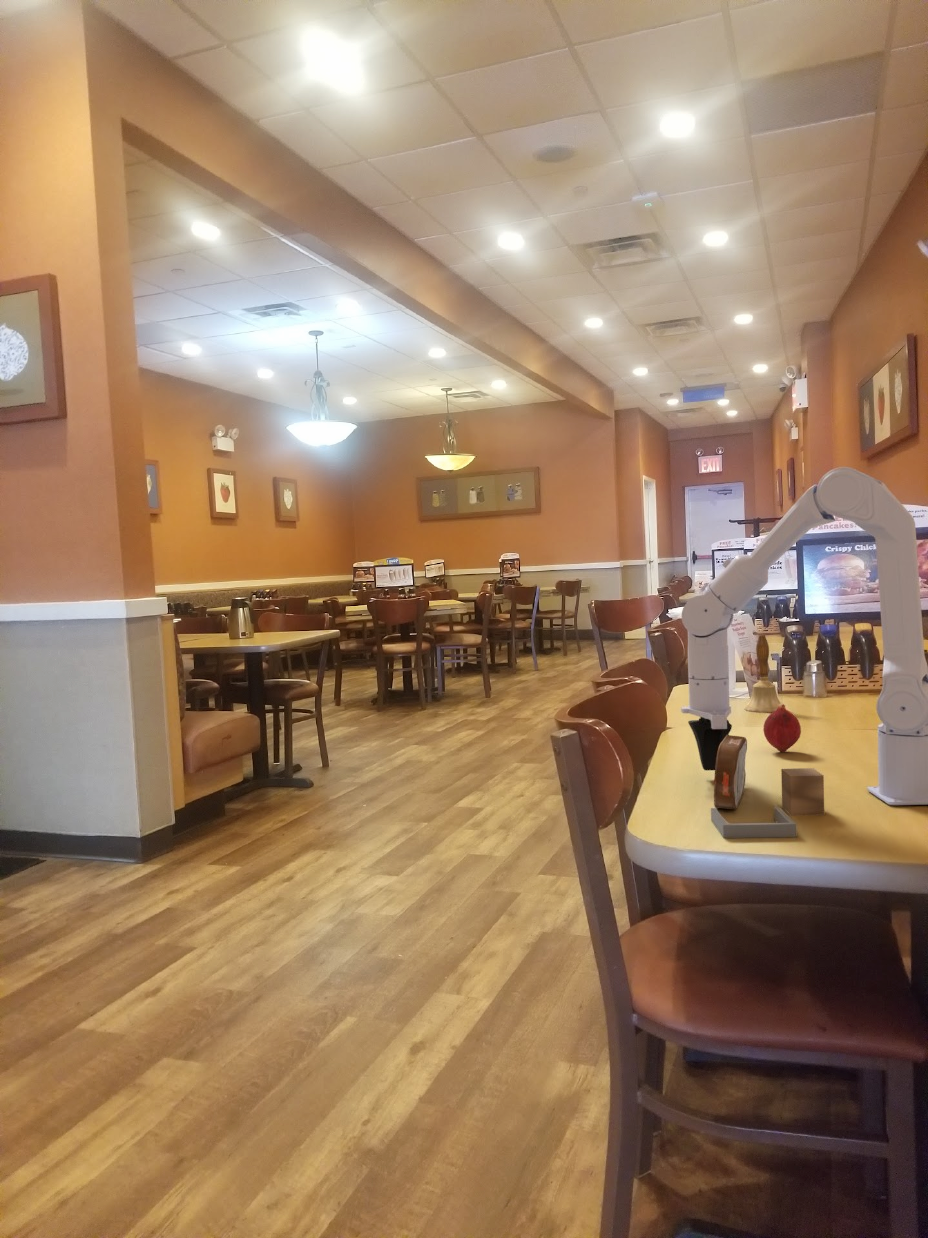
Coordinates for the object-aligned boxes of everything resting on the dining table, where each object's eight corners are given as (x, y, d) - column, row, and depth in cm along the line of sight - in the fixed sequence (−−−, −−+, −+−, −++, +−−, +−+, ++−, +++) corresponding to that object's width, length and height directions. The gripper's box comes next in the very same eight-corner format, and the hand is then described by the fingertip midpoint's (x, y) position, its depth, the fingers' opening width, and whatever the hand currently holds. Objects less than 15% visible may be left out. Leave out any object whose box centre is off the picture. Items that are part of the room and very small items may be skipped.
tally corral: (779, 819, 109) (778, 807, 108) (796, 837, 101) (796, 824, 101) (711, 820, 109) (710, 808, 109) (723, 838, 102) (723, 825, 102)
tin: (726, 787, 125) (725, 728, 125) (750, 789, 124) (749, 729, 123) (711, 816, 111) (710, 750, 111) (737, 818, 110) (736, 751, 110)
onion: (804, 755, 143) (803, 706, 142) (766, 755, 144) (765, 706, 143) (797, 748, 148) (797, 701, 148) (761, 748, 150) (760, 701, 149)
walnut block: (813, 806, 114) (813, 768, 113) (824, 815, 110) (823, 775, 109) (782, 807, 114) (781, 768, 114) (791, 816, 110) (790, 776, 110)
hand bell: (766, 714, 183) (764, 637, 182) (735, 709, 190) (734, 635, 189) (794, 709, 187) (792, 634, 186) (763, 705, 194) (761, 632, 193)
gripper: (673, 672, 137) (675, 759, 137) (689, 684, 122) (691, 781, 123) (719, 671, 136) (721, 758, 137) (741, 683, 122) (743, 780, 122)
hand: (710, 769), depth 130 cm, fingers closed
